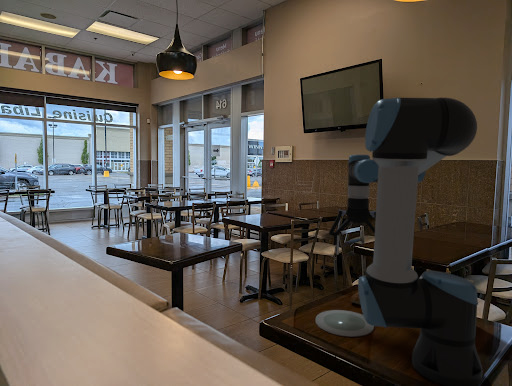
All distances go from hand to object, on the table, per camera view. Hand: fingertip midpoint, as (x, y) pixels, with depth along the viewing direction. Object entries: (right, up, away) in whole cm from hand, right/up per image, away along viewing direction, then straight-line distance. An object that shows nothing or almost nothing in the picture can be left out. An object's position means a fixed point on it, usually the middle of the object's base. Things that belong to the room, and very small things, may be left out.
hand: (356, 254), depth 130 cm
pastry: (-1, -18, +1) cm, 18 cm away
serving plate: (-9, -19, -18) cm, 27 cm away
